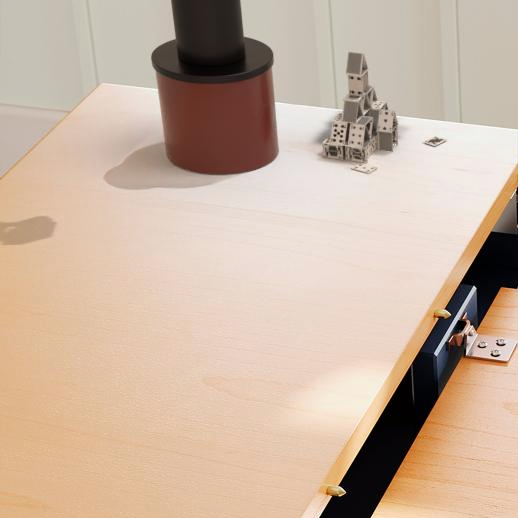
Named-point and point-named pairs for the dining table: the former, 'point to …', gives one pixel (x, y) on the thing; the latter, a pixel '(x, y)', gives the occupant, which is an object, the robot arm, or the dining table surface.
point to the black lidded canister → (208, 31)
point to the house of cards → (363, 121)
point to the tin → (218, 110)
